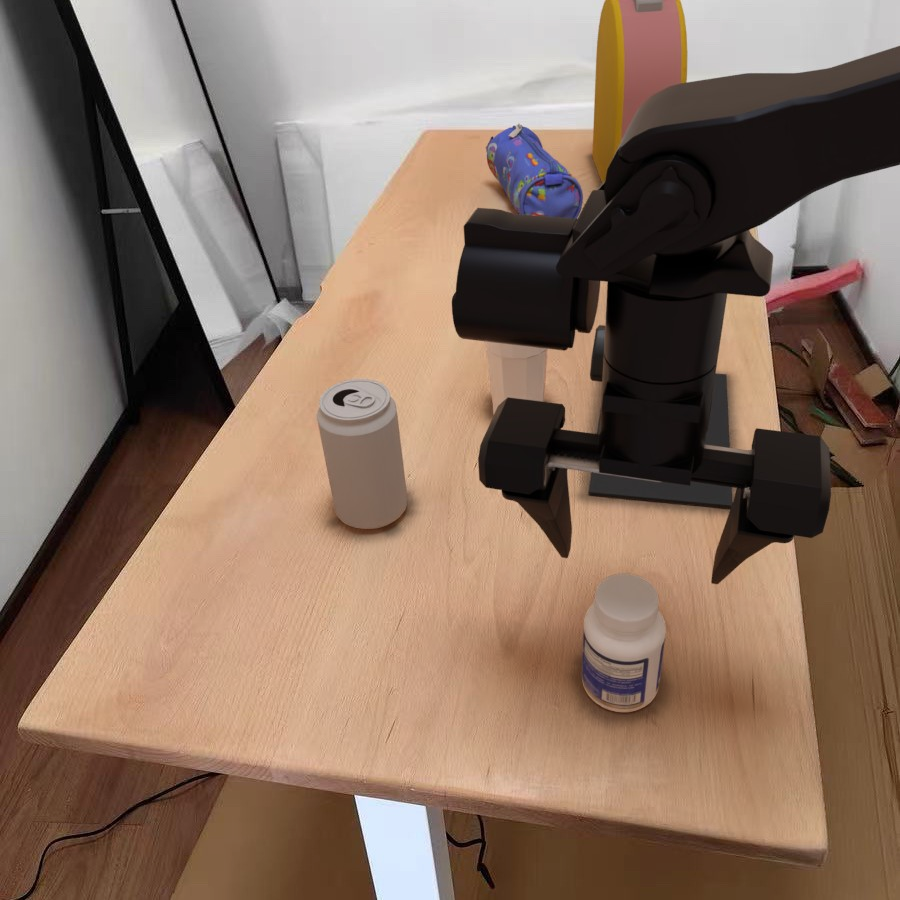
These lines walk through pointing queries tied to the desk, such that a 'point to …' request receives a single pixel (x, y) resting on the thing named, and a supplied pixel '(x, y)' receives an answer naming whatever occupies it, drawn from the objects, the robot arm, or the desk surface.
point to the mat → (670, 491)
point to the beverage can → (363, 453)
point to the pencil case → (532, 175)
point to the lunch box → (633, 66)
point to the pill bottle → (623, 644)
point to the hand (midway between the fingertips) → (638, 565)
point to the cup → (516, 372)
